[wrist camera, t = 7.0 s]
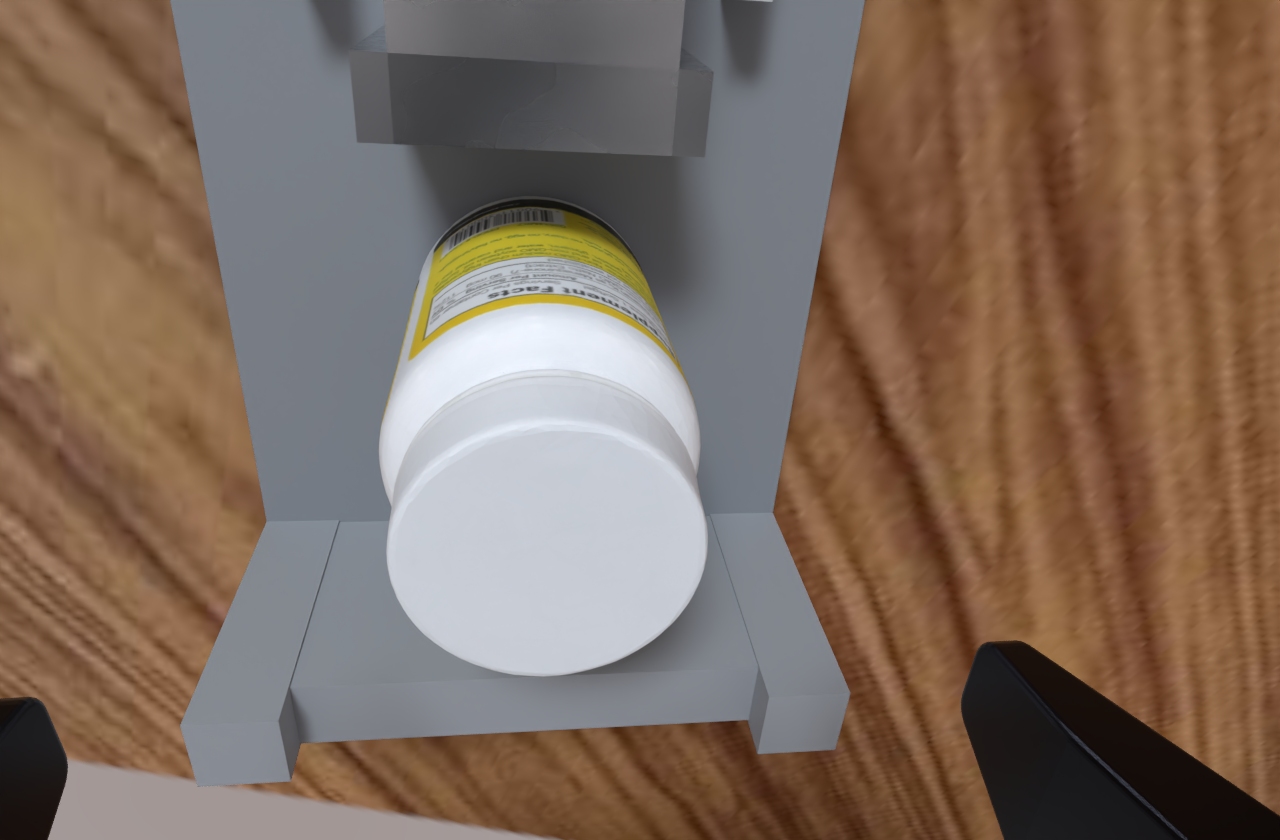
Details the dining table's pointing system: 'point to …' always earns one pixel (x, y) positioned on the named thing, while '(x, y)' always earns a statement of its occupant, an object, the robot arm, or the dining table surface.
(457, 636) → the supplement bottle
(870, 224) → the dining table surface
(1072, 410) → the dining table surface
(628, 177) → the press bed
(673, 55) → the pale grey box
